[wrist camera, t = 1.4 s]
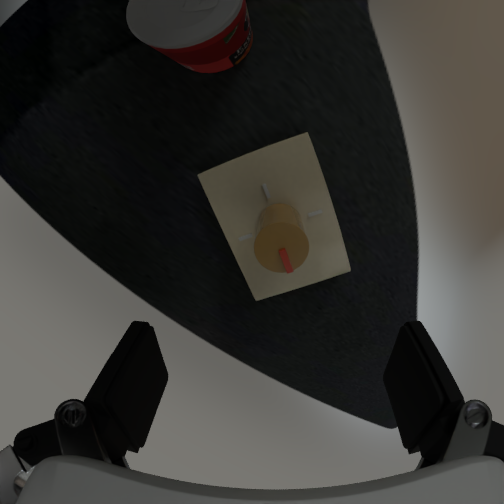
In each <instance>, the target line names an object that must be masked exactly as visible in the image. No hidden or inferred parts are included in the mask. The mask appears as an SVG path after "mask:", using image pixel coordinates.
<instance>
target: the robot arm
mask: <svg viewBox="0 0 504 504" xmlns="http://www.w3.org/2000/svg"><path fill="white" fill-rule="evenodd" d="M167 381H168V372H167V369H166V366H165V363H164V360H163V357H162V354H161V351H160V347H159V344H158V341H157V338H156V334H155V331H154V328H153V327H152V326H150V325H149V323H148V322H142V321H133V322H132V323H131V325H130V326H129V328H128V329H127V331H126V333H125V334H124V336H123V338H122V339H121V340H120V342H119V344H118V345H117V347H116V348H115V350H114V352H113V353H112V354H111V356H110V358H109V359H108V361H107V362H106V364H105V366H104V367H103V369H102V371H101V372H100V374H99V376H98V377H97V379H96V381H95V383H94V384H93V386H92V388H91V389H90V391H89V393H88V394H87V396H86V398H85V400H84V402H83V401H81V400H78V399H70V400H67V401H64V402H63V403H61V404H60V405H59V406H58V408H57V409H56V411H55V414H54V419H53V420H49V421H47V422H44V423H41V424H38V425H35V426H32V427H29V428H27V429H24V430H22V431H20V432H19V433H18V434H17V435H16V437H15V440H14V446H13V447H12V446H11V445H9V446H7V447H6V448H4V449H3V450H2V451H0V504H504V425H501V424H499V423H497V422H495V421H492V414H491V410H490V408H489V407H488V406H487V405H486V404H485V403H484V402H482V401H480V400H470V401H468V402H466V403H465V401H464V398H463V396H462V394H461V392H460V390H459V388H458V386H457V384H456V382H455V380H454V378H453V376H452V374H451V372H450V371H449V369H448V367H447V365H446V363H445V362H444V360H443V358H442V356H441V354H440V353H439V351H438V349H437V347H436V346H435V344H434V342H433V341H432V339H431V337H430V336H429V334H428V332H427V331H426V329H425V328H424V326H423V324H422V323H421V322H420V321H411V322H406V323H405V324H404V326H402V327H401V328H400V330H399V333H398V336H397V339H396V342H395V345H394V348H393V351H392V353H391V356H390V359H389V361H388V364H387V367H386V369H385V372H384V375H383V381H384V384H385V387H386V390H387V393H388V396H389V399H390V403H391V406H392V409H393V412H394V415H395V419H396V422H397V426H398V429H399V432H400V436H401V440H402V443H403V446H404V448H406V449H408V452H409V454H412V453H415V452H419V451H420V452H421V456H422V458H421V460H420V462H419V464H418V466H417V468H416V469H415V471H411V472H407V473H404V474H399V475H395V476H391V477H386V478H382V479H377V480H372V481H367V482H361V483H355V484H349V485H341V486H333V487H323V488H310V489H288V490H263V489H241V488H229V487H219V486H209V485H203V484H196V483H190V482H184V481H179V480H174V479H168V478H164V477H160V476H155V475H151V474H147V473H143V472H139V471H135V470H131V469H130V467H129V465H128V463H127V461H126V459H125V454H126V451H127V450H128V451H132V452H135V453H138V451H139V448H140V447H141V448H142V447H143V446H144V444H145V442H146V439H147V436H148V433H149V431H150V428H151V425H152V422H153V419H154V417H155V414H156V411H157V408H158V405H159V403H160V400H161V397H162V395H163V392H164V390H165V387H166V384H167Z"/></svg>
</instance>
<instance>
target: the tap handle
mask: <svg viewBox="0 0 504 504" xmlns="http://www.w3.org/2000/svg"><path fill="white" fill-rule="evenodd" d="M254 253H255V256H256V258H257V260H258V262H259V263H260V264H261V265H262V266H263V267H264V268H266V269H268V270H270V271H273V272H277V273H285V272H287V274H288V273H291V272H294V270H295V269H297V268H298V267H300V266H301V265H302V264H303V263H304V261H305V260H306V258H307V256H308V253H309V241H308V237H307V234H306V231H305V228H304V224H303V221H302V218H301V216H300V214H299V212H298V211H297V210H296V209H295V208H293V207H292V206H290V205H287V204H283V203H277V204H273V205H270V206H268V207H267V208H265V209H264V210H263V211H262V212H261V214H260V216H259V218H258V221H257V228H256V234H255V241H254Z"/></svg>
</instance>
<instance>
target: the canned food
mask: <svg viewBox="0 0 504 504" xmlns="http://www.w3.org/2000/svg"><path fill="white" fill-rule="evenodd" d="M126 19H127V24H128V26H129V28H130V30H131V32H132V33H133V34H134V35H135V36H136V37H137V38H138V39H139V40H141V41H142V42H144V43H146V44H147V45H149V46H151V47H152V48H154V49H156V50H157V51H159V52H161V53H163V54H164V55H166V56H168V57H169V58H171V59H173V60H175V61H176V62H178V63H179V64H181V65H183V66H184V67H186V68H188V69H190V70H193V71H196V72H200V73H214V72H220V71H224V70H226V69H229V68H231V67H233V66H234V65H236V64H238V63H239V62H240V61H241V60H242V59H243V58H244V57H245V56H246V55H247V53H248V52H249V50H250V48H251V45H252V40H253V35H252V29H251V24H250V19H249V14H248V10H247V5H246V1H245V0H129V3H128V7H127V13H126Z"/></svg>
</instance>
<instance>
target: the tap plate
mask: <svg viewBox="0 0 504 504" xmlns="http://www.w3.org/2000/svg"><path fill="white" fill-rule="evenodd" d="M197 176H198V178H199V180H200V182H201V184H202V187H203V189H204V191H205V193H206V195H207V198H208V200H209V202H210V204H211V206H212V209H213V211H214V213H215V215H216V217H217V219H218V222H219V224H220V226H221V228H222V230H223V232H224V235H225V237H226V239H227V241H228V243H229V245H230V247H231V250H232V252H233V254H234V256H235V258H236V260H237V262H238V264H239V267H240V269H241V271H242V273H243V275H244V277H245V279H246V281H247V283H248V286H249V288H250V290H251V292H252V294H253V296H254V298H255V300H256V301H258V300H261V299H264V298H268V297H271V296H274V295H278V294H281V293H284V292H288V291H291V290H294V289H297V288H300V287H304V286H307V285H310V284H313V283H316V282H319V281H322V280H325V279H328V278H331V277H334V276H337V275H340V274H343V273H346V272H349V271H351V268H350V264H349V260H348V256H347V253H346V249H345V245H344V242H343V238H342V234H341V231H340V227H339V224H338V220H337V217H336V214H335V210H334V207H333V204H332V201H331V198H330V194H329V191H328V188H327V185H326V182H325V179H324V176H323V173H322V170H321V167H320V165H319V162H318V159H317V156H316V153H315V151H314V148H313V145H312V142H311V140H310V137H309V134H308V132H303V133H300V134H297V135H295V136H292V137H289V138H286V139H283V140H280V141H277V142H275V143H272V144H269V145H266V146H264V147H261V148H258V149H256V150H253V151H251V152H248V153H245V154H243V155H240V156H238V157H235V158H233V159H231V160H228V161H226V162H223V163H221V164H219V165H216V166H214V167H212V168H209V169H207V170H205V171H202V172H201V173H199V174H198V175H197ZM277 203H283V204H287V205H290V206H292V207H293V208H295V209H296V210H297V211H298V212H299V214H300V216H301V218H302V221H303V224H304V228H305V231H306V234H307V237H308V241H309V253H308V256H307V258H306V260H305V261H304V263H303V264H302V265H301V266H300V267H298V268H297V269H295V270H294V272H291V273H288V274H287V272H285V273H277V272H273V271H270V270H268V269H266V268H264V267H263V266H262V265H261V264H260V263H259V262H258V260H257V258H256V256H255V253H254V241H255V234H256V228H257V221H258V218H259V216H260V214H261V212H262V211H263V210H264V209H265V208H267V207H268V206H270V205H273V204H277Z"/></svg>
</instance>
